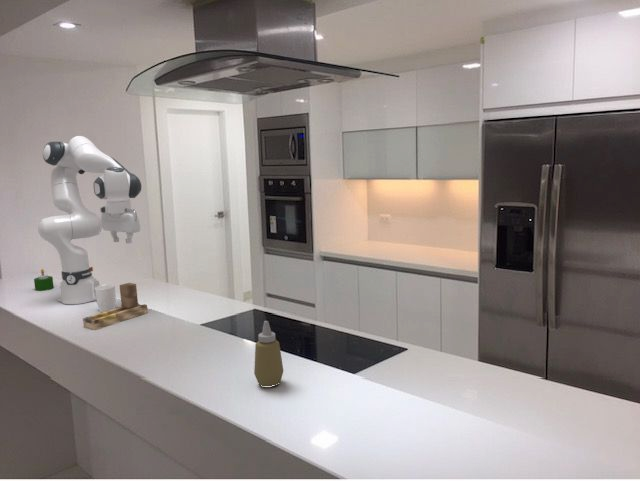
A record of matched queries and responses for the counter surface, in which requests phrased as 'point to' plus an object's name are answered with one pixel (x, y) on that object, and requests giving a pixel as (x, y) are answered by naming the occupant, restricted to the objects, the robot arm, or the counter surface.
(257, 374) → the squeeze bottle
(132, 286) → the plate
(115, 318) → the beam
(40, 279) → the candle
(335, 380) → the counter surface
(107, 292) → the white cup
